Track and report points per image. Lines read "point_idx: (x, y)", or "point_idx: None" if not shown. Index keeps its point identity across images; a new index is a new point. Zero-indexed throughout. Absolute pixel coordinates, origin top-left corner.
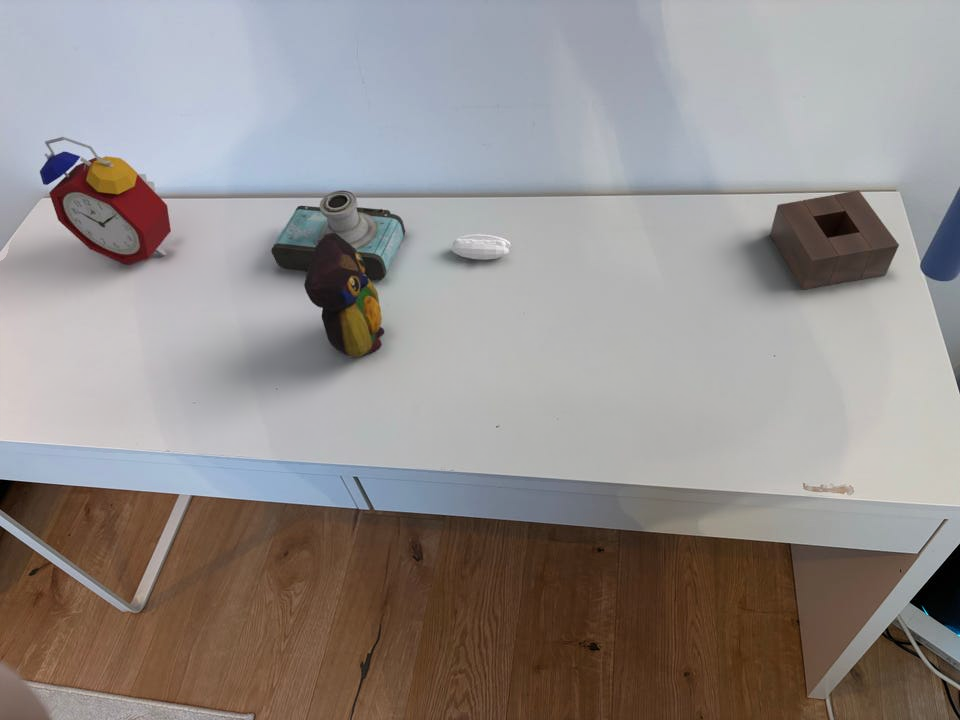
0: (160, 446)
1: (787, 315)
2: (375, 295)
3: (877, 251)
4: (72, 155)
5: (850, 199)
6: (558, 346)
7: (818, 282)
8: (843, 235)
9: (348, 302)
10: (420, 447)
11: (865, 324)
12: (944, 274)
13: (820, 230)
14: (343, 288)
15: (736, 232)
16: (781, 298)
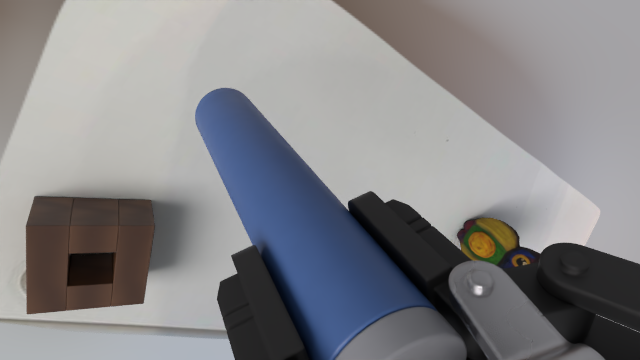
0: (570, 186)
1: (185, 173)
2: (474, 258)
3: (60, 222)
4: None
5: (48, 301)
6: (377, 194)
7: (133, 203)
8: (93, 252)
9: (523, 250)
10: (488, 141)
11: (107, 137)
12: (245, 97)
13: (117, 263)
14: (533, 259)
15: (173, 280)
16: (178, 195)
